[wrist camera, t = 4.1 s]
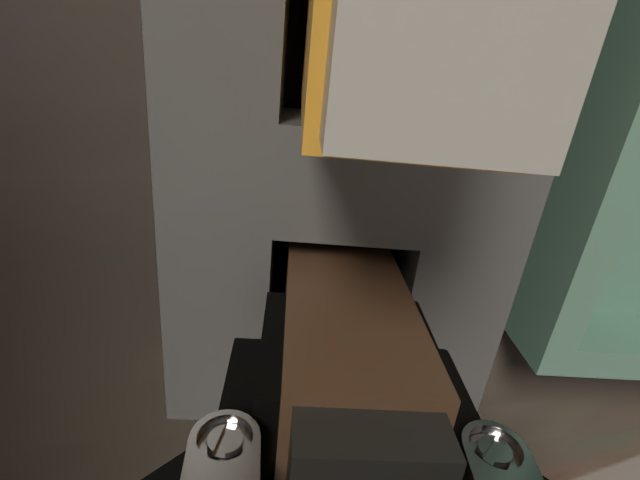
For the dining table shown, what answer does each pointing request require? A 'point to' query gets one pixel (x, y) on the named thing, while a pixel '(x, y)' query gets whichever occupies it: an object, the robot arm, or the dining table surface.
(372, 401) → the block
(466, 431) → the robot arm
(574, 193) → the parts tray
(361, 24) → the block
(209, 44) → the block
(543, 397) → the dining table surface
